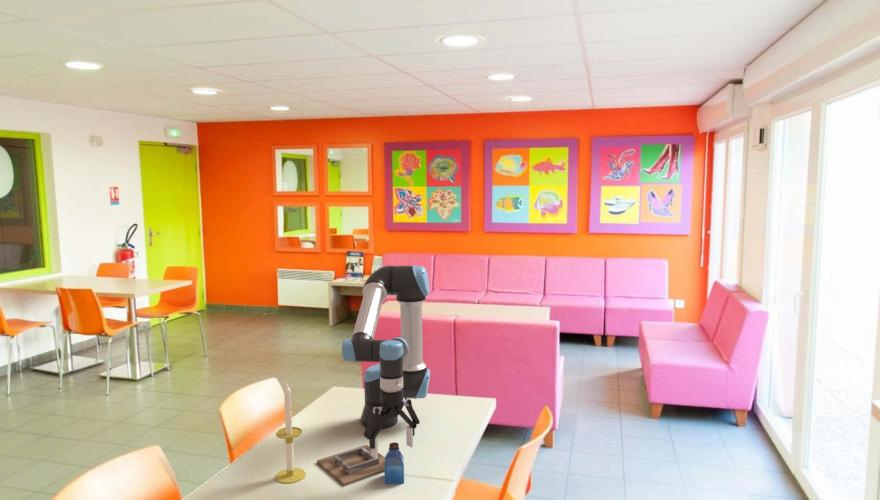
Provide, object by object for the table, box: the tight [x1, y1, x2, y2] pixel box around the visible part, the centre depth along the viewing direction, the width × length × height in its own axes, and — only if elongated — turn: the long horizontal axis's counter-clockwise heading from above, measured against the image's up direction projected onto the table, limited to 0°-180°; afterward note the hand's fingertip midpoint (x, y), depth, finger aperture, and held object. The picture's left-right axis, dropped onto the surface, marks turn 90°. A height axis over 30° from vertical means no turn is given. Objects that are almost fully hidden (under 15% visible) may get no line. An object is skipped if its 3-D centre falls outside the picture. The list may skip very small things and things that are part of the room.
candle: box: [274, 383, 307, 484], centre depth 195 cm, size 10×10×32 cm
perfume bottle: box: [384, 442, 405, 485], centre depth 194 cm, size 6×6×12 cm
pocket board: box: [316, 444, 385, 487], centre depth 204 cm, size 20×20×3 cm
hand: (392, 451), depth 193 cm, fingers open, 13 cm apart
